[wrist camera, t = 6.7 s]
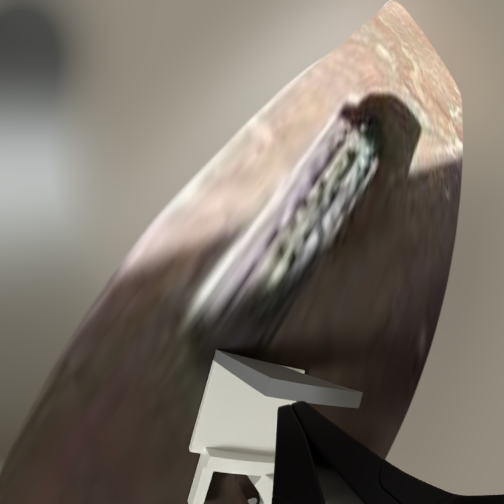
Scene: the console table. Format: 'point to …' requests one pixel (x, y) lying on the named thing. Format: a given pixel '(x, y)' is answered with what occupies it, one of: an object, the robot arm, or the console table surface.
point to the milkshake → (255, 488)
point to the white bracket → (250, 415)
